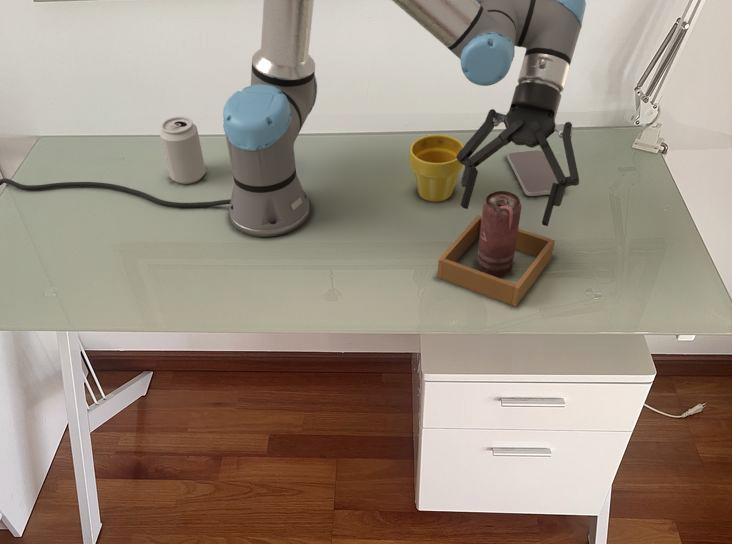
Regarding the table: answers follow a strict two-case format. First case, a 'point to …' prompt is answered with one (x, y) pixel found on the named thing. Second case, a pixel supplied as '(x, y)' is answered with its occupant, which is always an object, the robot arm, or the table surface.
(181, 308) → the table surface
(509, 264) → the can
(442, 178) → the flower pot
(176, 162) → the can
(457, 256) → the wooden square frame
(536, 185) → the smartphone
